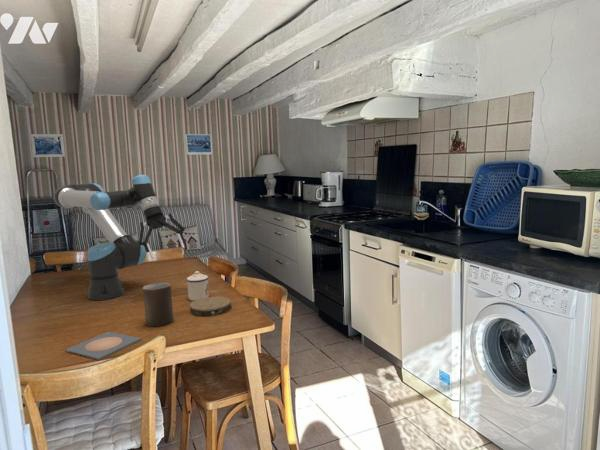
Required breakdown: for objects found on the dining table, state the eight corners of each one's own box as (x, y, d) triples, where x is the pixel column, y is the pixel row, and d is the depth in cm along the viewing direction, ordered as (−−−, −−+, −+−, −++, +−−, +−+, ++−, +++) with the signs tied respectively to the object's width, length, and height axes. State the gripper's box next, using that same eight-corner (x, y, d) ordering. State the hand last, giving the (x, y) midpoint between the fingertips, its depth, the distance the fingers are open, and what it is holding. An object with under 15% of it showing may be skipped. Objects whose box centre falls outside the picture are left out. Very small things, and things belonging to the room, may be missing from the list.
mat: (65, 351, 135) (64, 349, 135) (108, 333, 149) (108, 331, 149) (98, 360, 128) (98, 358, 128) (141, 340, 142) (141, 338, 142)
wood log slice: (187, 307, 174) (186, 300, 173) (226, 301, 180) (225, 294, 180) (194, 320, 159) (193, 312, 159) (235, 312, 165) (235, 305, 165)
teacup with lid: (211, 299, 183) (209, 272, 181) (189, 302, 180) (187, 275, 178) (207, 291, 194) (205, 266, 192) (186, 294, 191) (184, 269, 189)
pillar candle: (168, 326, 153) (165, 285, 151) (141, 327, 153) (138, 286, 151) (177, 317, 163) (173, 278, 161) (151, 318, 163) (148, 279, 161)
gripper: (122, 214, 181) (139, 261, 179) (179, 197, 191) (196, 241, 189) (122, 219, 188) (139, 264, 185) (178, 203, 198) (194, 245, 196)
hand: (168, 253), depth 187 cm, fingers open, 13 cm apart
